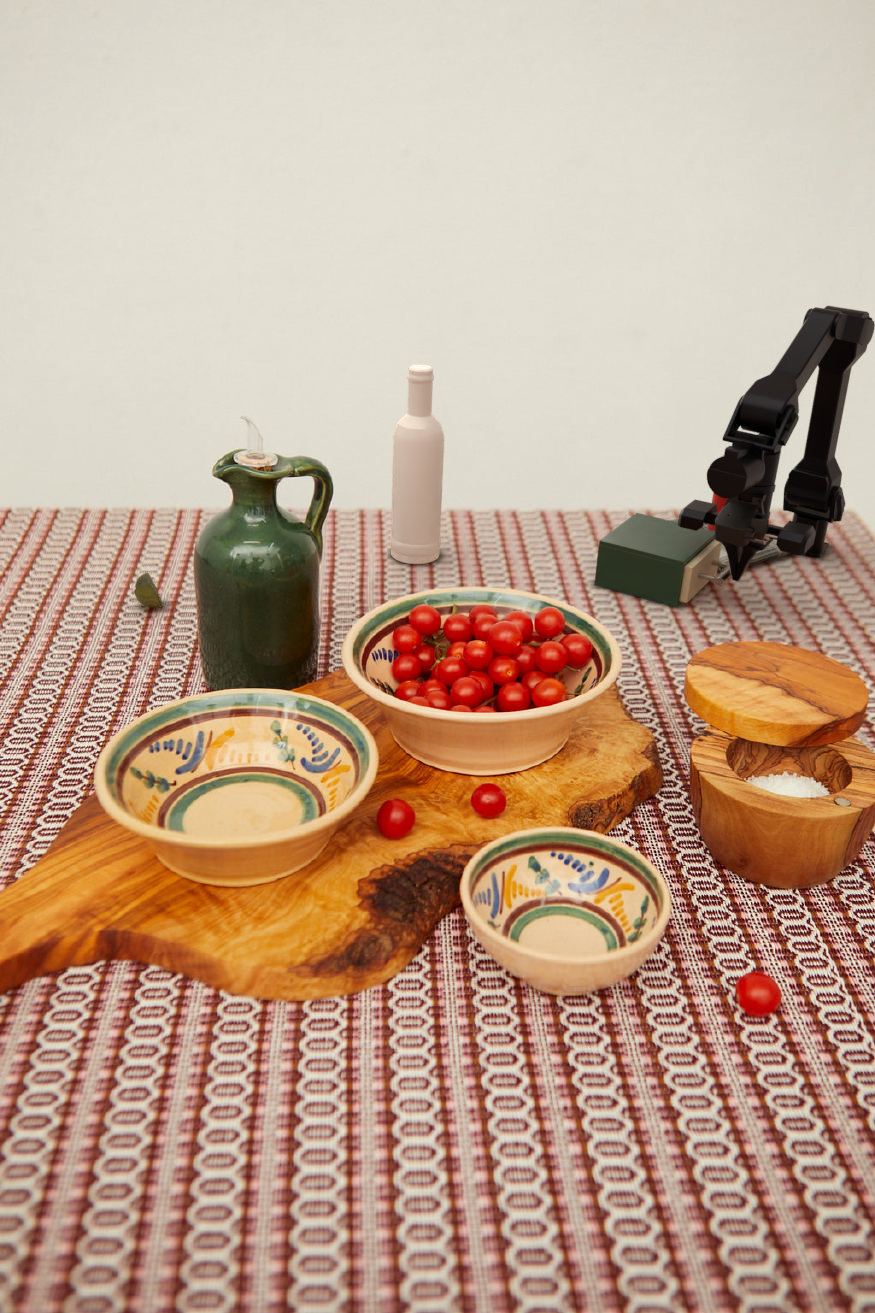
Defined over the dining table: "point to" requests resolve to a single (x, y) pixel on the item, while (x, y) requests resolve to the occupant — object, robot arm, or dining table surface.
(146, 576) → the lime
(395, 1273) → the dining table surface
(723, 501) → the sauce bottle
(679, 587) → the dark green box
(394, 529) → the bottle
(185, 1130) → the dining table surface
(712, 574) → the drawer
